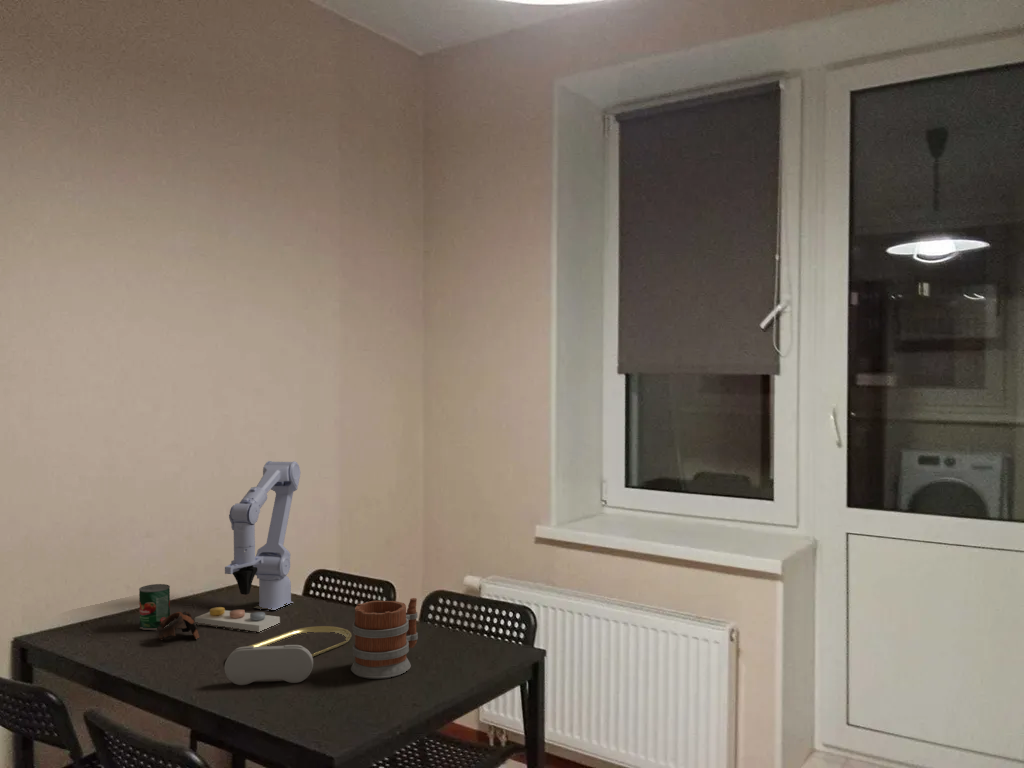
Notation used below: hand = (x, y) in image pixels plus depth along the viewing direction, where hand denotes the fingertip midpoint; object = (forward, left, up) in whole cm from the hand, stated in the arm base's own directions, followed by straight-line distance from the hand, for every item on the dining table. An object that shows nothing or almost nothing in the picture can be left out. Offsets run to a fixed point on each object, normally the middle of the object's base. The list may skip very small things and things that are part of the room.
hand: (245, 593), depth 239 cm
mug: (+17, +56, -8) cm, 59 cm away
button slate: (+2, +6, -6) cm, 9 cm away
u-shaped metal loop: (+15, +27, -9) cm, 32 cm away
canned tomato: (+12, -21, -8) cm, 26 cm away
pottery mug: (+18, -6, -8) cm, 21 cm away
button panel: (+2, -1, -8) cm, 8 cm away
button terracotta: (+2, -1, -7) cm, 7 cm away
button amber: (+2, -8, -6) cm, 10 cm away
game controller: (+36, +36, -8) cm, 52 cm away
